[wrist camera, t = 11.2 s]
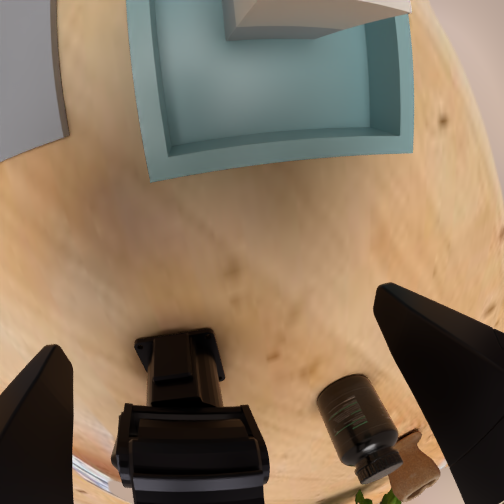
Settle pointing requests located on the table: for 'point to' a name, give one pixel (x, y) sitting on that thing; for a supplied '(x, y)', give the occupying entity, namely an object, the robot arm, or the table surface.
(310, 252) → the table surface
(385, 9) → the beige rectangular block
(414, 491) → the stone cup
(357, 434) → the supplement bottle
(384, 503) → the indoor plant
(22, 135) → the stud base
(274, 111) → the bin
